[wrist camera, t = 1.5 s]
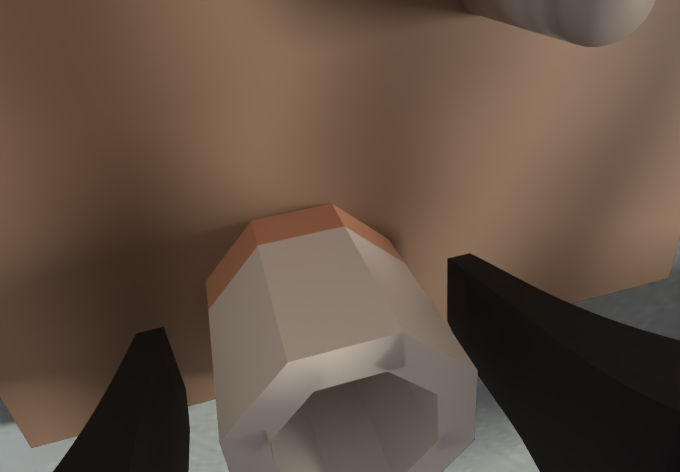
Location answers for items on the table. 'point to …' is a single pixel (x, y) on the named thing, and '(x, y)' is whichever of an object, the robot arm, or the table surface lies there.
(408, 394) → the sleeve
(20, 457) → the table surface
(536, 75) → the pin board
